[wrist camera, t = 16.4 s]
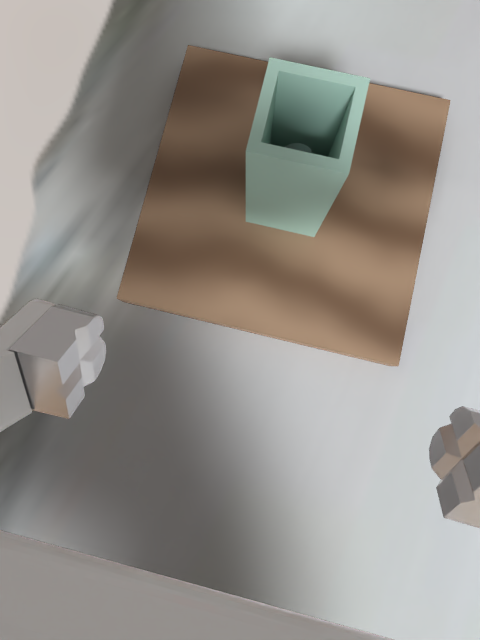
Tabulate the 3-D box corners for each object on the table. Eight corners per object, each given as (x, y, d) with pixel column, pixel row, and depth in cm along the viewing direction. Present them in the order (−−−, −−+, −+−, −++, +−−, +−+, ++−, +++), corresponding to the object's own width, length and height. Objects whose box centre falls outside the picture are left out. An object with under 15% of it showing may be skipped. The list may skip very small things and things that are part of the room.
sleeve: (314, 237, 27) (349, 173, 18) (245, 221, 27) (245, 151, 18) (329, 172, 27) (370, 78, 18) (261, 157, 27) (269, 57, 18)
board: (389, 366, 27) (398, 366, 25) (123, 301, 28) (116, 298, 26) (439, 113, 29) (450, 100, 28) (190, 60, 30) (187, 44, 28)
